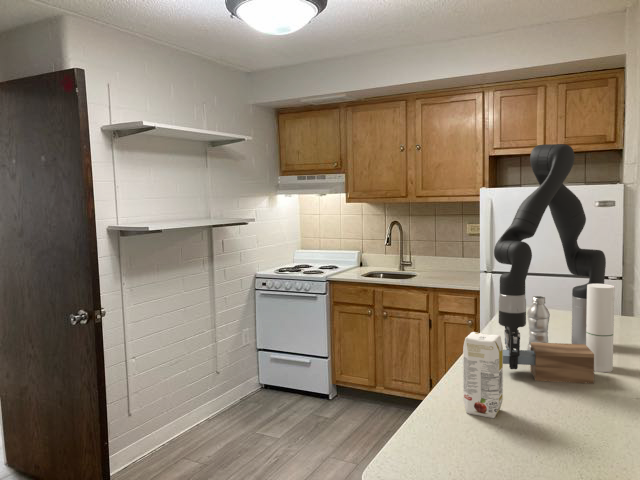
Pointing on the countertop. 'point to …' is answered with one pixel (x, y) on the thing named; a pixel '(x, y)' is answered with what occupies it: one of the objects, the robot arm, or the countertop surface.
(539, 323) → the plastic bottle
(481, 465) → the countertop surface
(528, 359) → the cover plate
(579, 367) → the brown box
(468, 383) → the juice carton
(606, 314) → the cylindrical container
